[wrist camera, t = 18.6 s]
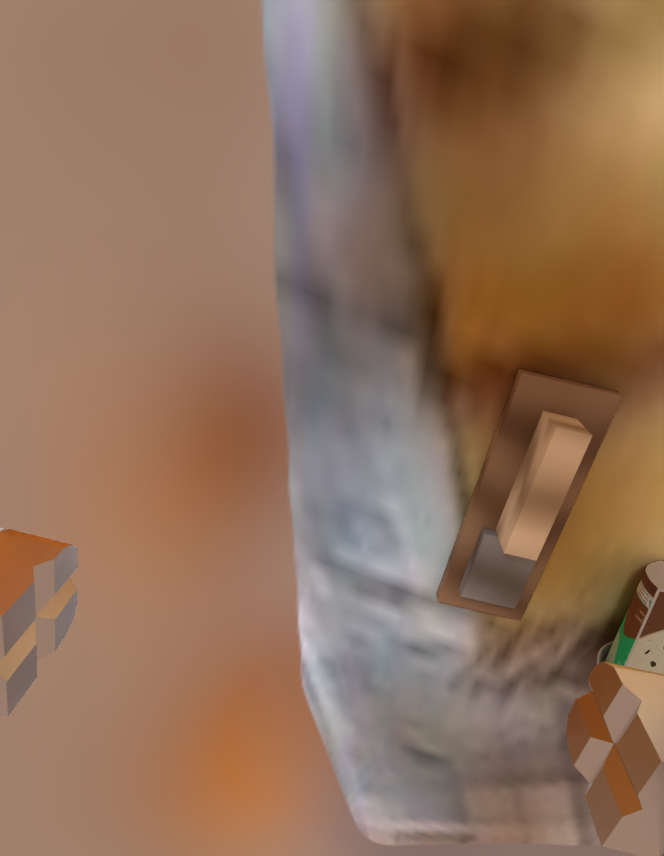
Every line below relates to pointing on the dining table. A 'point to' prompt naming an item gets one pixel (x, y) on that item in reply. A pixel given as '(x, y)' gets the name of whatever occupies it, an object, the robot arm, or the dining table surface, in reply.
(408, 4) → the dining table surface
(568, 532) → the dining table surface
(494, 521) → the wooden board
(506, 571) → the turner
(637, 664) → the food container
